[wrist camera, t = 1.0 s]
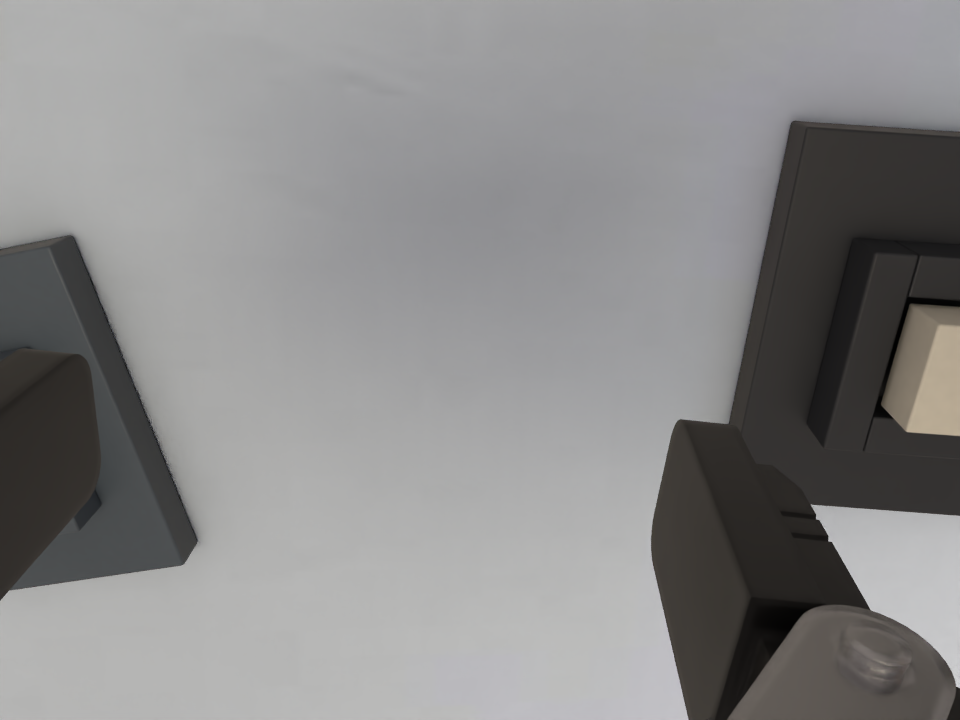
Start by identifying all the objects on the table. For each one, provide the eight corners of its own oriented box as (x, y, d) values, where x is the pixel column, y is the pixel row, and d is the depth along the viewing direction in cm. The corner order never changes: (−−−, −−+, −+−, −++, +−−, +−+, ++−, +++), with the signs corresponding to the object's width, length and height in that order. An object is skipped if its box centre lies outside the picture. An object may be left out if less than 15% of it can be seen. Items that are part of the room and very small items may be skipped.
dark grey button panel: (790, 120, 23) (828, 134, 20) (1140, 143, 23) (1226, 161, 20) (717, 477, 28) (739, 527, 25) (1006, 498, 28) (1060, 551, 25)
